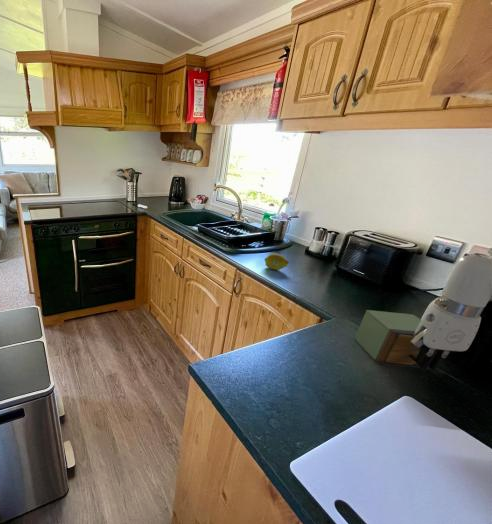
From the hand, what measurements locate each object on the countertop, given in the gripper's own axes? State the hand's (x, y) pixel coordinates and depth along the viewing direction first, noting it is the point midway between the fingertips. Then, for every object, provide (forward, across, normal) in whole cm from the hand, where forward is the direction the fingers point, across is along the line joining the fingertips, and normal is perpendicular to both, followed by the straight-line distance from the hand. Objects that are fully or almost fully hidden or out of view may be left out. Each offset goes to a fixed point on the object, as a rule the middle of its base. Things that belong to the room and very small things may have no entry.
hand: (424, 365), depth 77 cm
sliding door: (+4, -2, +2) cm, 5 cm away
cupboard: (+5, 0, +11) cm, 12 cm away
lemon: (+5, -14, +71) cm, 73 cm away
